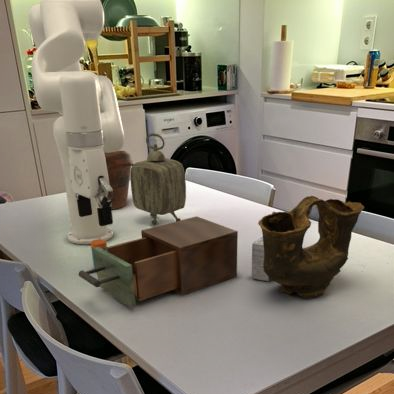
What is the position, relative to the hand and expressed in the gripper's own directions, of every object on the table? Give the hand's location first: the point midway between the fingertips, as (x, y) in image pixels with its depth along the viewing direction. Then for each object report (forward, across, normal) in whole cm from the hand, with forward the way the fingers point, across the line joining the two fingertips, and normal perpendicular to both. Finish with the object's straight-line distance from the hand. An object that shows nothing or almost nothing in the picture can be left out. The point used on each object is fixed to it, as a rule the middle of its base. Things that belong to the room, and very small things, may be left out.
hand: (95, 220), depth 116 cm
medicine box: (+13, +27, +28) cm, 41 cm away
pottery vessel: (+13, +38, +29) cm, 50 cm away
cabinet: (+12, +16, +14) cm, 25 cm away
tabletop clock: (+12, -22, +31) cm, 40 cm away
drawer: (+12, +16, -2) cm, 20 cm away
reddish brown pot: (+12, -50, +29) cm, 59 cm away
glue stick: (+12, -1, 0) cm, 12 cm away
